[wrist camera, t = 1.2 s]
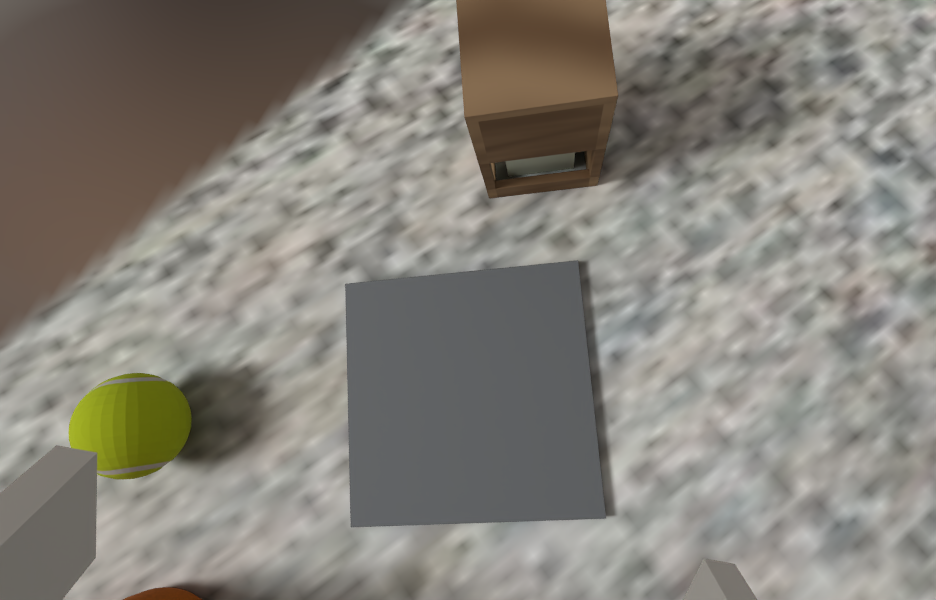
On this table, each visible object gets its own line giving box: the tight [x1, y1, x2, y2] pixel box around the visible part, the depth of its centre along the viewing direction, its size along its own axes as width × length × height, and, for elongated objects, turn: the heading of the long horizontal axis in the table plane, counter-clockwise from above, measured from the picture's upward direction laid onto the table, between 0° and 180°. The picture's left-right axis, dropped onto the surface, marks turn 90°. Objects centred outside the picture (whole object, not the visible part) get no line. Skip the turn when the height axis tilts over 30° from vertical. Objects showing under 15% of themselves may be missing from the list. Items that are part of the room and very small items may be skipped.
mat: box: [345, 261, 606, 527], centre depth 34 cm, size 16×16×1 cm
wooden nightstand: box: [456, 0, 618, 198], centre depth 31 cm, size 7×7×11 cm
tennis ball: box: [69, 373, 192, 479], centre depth 34 cm, size 7×7×7 cm
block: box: [506, 152, 575, 177], centre depth 35 cm, size 4×4×4 cm
